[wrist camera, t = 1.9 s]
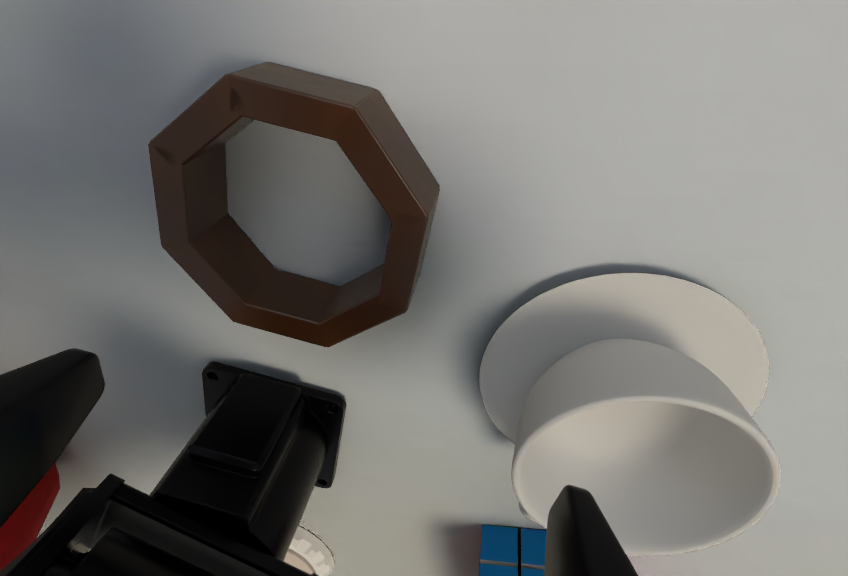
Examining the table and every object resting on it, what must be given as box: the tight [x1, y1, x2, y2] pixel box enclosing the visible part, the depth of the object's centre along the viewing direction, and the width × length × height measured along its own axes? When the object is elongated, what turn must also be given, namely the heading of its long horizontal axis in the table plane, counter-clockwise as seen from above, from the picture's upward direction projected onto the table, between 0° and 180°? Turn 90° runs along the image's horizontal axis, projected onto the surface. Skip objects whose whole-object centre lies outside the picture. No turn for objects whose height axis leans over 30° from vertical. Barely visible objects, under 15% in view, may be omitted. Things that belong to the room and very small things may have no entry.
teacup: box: [479, 273, 781, 556], centre depth 16 cm, size 10×10×5 cm
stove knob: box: [284, 526, 334, 576], centre depth 29 cm, size 7×7×2 cm
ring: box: [148, 62, 440, 347], centre depth 15 cm, size 8×8×2 cm
